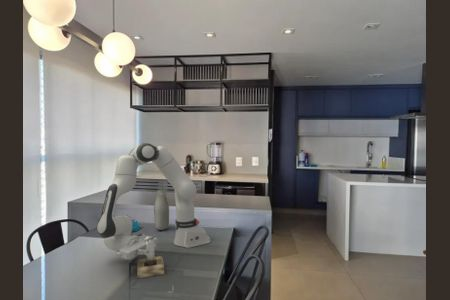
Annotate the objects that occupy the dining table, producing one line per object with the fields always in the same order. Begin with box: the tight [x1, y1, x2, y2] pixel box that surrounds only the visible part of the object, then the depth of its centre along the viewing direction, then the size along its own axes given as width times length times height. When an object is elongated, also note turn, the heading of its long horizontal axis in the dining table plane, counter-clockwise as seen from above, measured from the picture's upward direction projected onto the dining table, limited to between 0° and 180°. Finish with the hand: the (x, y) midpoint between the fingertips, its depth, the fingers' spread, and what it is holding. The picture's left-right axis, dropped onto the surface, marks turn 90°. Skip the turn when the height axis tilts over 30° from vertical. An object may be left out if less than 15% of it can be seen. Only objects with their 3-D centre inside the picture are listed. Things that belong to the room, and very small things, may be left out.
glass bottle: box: [153, 189, 170, 231], centre depth 182 cm, size 10×10×28 cm
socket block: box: [136, 255, 165, 279], centre depth 125 cm, size 12×12×4 cm
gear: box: [132, 218, 141, 232], centre depth 182 cm, size 11×6×10 cm
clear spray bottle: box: [144, 233, 157, 266], centre depth 125 cm, size 7×4×15 cm, turn 153°
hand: (151, 250), depth 125 cm, fingers open, 4 cm apart
